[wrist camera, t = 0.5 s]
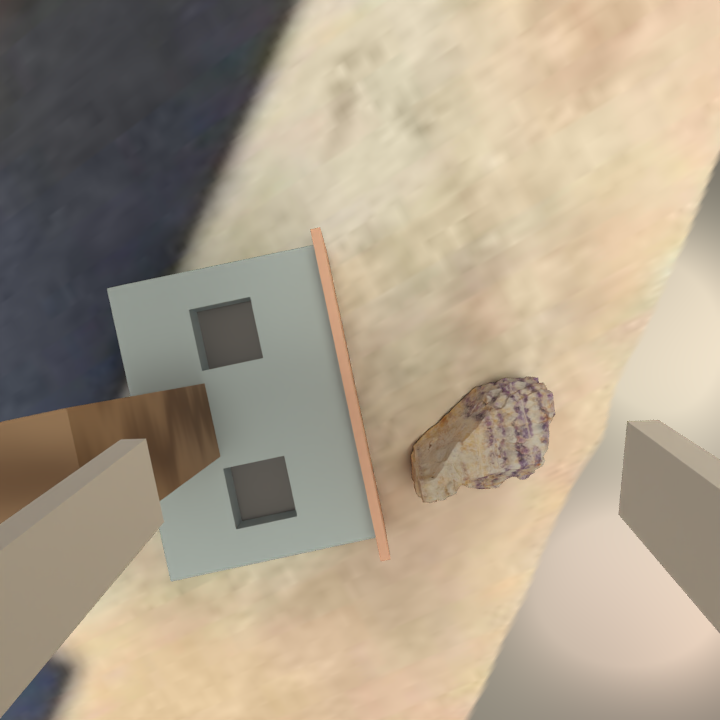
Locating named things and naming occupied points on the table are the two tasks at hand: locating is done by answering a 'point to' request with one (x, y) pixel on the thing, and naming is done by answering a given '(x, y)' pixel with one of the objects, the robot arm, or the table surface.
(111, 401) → the walnut block
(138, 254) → the table surface
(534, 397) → the mineral specimen
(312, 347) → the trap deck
